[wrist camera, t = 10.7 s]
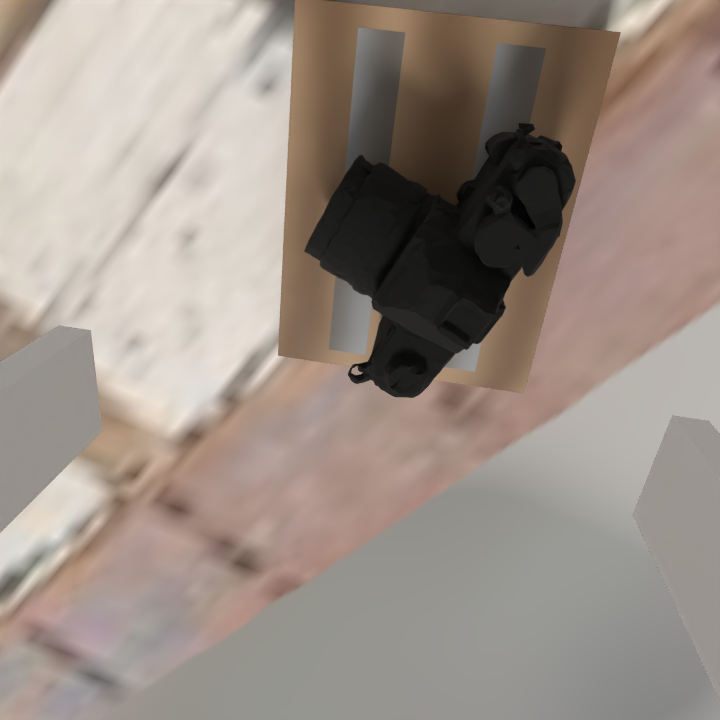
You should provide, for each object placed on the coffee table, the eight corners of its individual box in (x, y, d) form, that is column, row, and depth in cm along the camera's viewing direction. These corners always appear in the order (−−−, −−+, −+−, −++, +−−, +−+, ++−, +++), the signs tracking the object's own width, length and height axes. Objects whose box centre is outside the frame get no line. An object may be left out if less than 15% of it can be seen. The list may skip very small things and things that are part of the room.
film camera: (421, 52, 29) (414, 35, 20) (575, 158, 30) (626, 181, 22) (285, 291, 35) (239, 350, 27) (416, 371, 36) (409, 450, 28)
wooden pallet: (289, 337, 40) (278, 355, 37) (308, 5, 31) (295, -3, 28) (518, 372, 38) (523, 393, 36) (604, 38, 30) (620, 32, 27)
